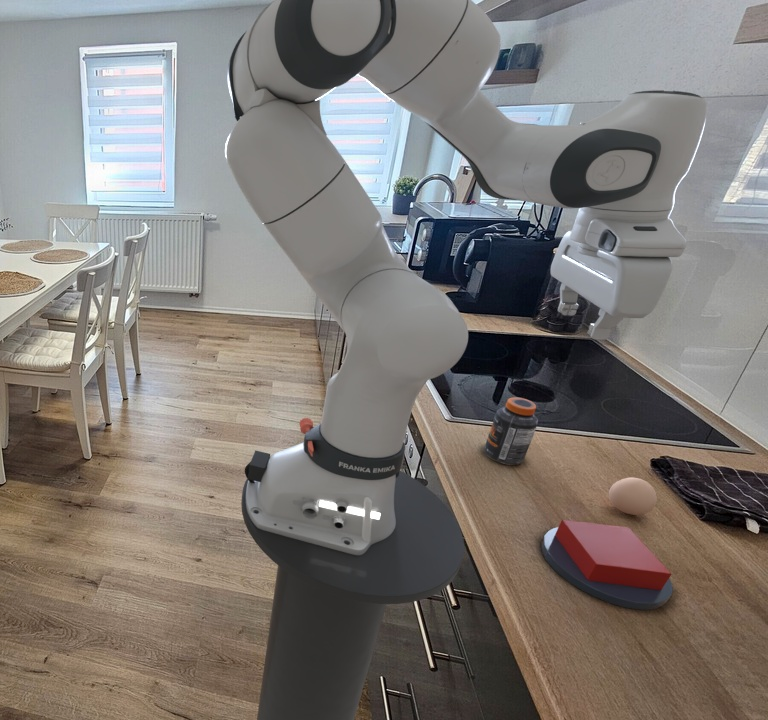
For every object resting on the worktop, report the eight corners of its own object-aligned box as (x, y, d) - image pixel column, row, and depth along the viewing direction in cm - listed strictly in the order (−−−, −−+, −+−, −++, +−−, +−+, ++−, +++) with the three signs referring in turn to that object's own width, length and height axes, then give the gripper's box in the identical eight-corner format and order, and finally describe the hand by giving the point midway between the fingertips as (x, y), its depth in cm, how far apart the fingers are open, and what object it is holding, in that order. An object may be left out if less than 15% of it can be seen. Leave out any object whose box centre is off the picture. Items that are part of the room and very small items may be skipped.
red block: (587, 580, 64) (596, 564, 63) (554, 535, 71) (561, 519, 70) (661, 590, 62) (672, 573, 61) (620, 543, 69) (629, 527, 68)
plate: (572, 600, 63) (576, 593, 63) (523, 526, 74) (526, 520, 74) (697, 618, 60) (701, 611, 60) (626, 538, 72) (629, 532, 71)
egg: (609, 516, 76) (625, 486, 73) (598, 496, 80) (612, 466, 77) (654, 526, 74) (671, 495, 71) (639, 504, 78) (655, 474, 75)
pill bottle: (481, 443, 93) (498, 391, 88) (519, 450, 91) (539, 397, 86) (485, 461, 88) (504, 407, 84) (526, 469, 86) (548, 414, 81)
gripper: (554, 214, 76) (527, 300, 82) (628, 245, 58) (587, 351, 64) (605, 215, 74) (573, 303, 80) (697, 246, 56) (648, 356, 62)
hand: (580, 325), depth 72 cm, fingers open, 8 cm apart
